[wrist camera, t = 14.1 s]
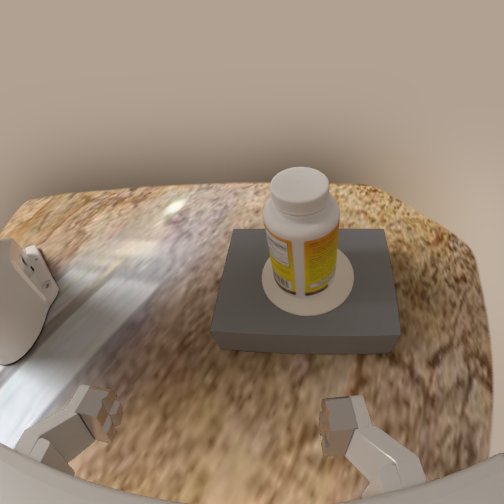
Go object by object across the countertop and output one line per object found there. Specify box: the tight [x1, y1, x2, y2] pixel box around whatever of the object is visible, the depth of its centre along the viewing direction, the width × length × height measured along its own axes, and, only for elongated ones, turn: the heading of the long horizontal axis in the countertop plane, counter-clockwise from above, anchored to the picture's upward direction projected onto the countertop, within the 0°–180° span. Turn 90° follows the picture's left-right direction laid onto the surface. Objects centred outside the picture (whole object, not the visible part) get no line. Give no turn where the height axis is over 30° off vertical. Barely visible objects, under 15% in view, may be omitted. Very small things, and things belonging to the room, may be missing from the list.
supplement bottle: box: [263, 167, 340, 298], centre depth 24 cm, size 6×6×10 cm
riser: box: [210, 229, 401, 354], centre depth 29 cm, size 16×12×4 cm
